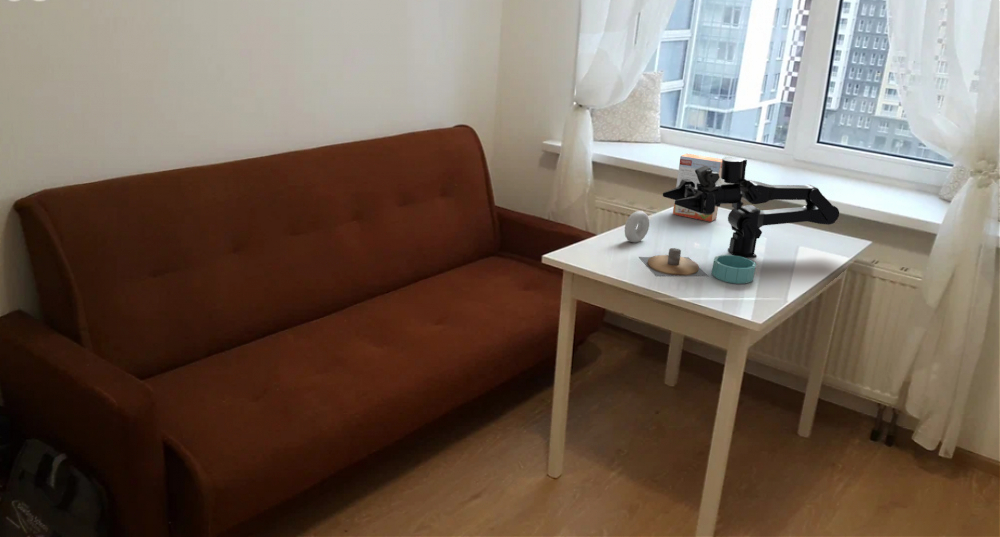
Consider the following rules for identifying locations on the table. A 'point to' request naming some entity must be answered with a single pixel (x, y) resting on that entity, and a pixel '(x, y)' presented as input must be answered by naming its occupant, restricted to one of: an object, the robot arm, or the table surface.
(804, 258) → the table surface
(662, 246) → the table surface
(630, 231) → the donut
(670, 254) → the lid
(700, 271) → the mat
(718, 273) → the bowl
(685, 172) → the cracker box
